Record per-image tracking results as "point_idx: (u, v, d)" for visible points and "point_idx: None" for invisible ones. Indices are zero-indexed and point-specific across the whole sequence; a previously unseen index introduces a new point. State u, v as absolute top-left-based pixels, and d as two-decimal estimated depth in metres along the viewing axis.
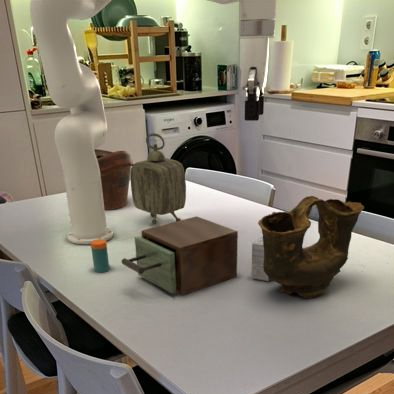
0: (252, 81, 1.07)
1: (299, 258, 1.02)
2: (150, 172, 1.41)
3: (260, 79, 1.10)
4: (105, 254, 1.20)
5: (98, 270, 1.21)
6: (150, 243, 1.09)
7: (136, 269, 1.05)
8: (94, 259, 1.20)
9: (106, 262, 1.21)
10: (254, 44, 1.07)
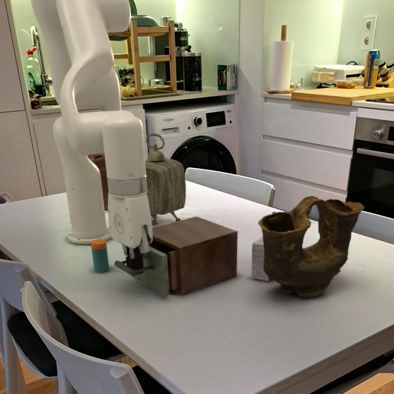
0: None
1: (299, 258, 1.02)
2: (150, 172, 1.41)
3: (151, 234, 1.01)
4: (105, 254, 1.20)
5: (98, 270, 1.21)
6: None
7: (128, 271, 1.04)
8: (94, 259, 1.20)
9: (106, 262, 1.21)
10: (141, 203, 0.97)
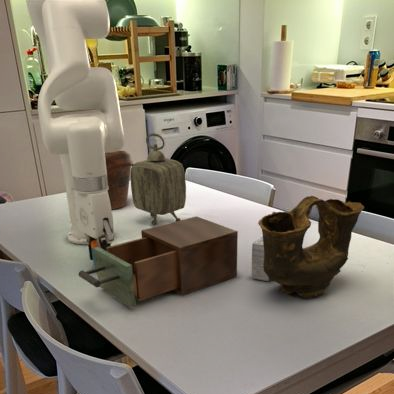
0: (113, 240, 1.14)
1: (299, 258, 1.02)
2: (150, 172, 1.41)
3: (112, 226, 1.15)
4: None
5: None
6: (108, 254, 1.04)
7: (92, 282, 1.00)
8: (94, 259, 1.20)
9: None
10: (102, 198, 1.10)
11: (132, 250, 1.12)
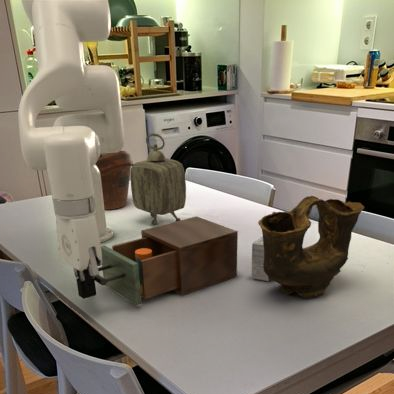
0: (97, 274, 0.97)
1: (299, 258, 1.02)
2: (150, 172, 1.41)
3: (100, 256, 0.96)
4: None
5: None
6: (114, 253, 1.05)
7: (98, 280, 1.01)
8: None
9: None
10: (87, 224, 0.92)
11: (137, 249, 1.13)
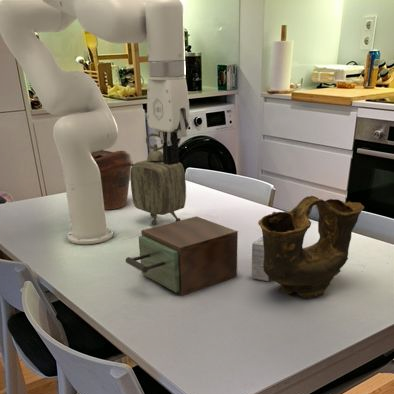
0: (185, 136, 1.08)
1: (299, 258, 1.02)
2: (150, 172, 1.41)
3: (188, 119, 1.07)
4: None
5: None
6: (154, 242, 1.10)
7: (140, 268, 1.06)
8: None
9: None
10: (180, 85, 1.03)
11: None
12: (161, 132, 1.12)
